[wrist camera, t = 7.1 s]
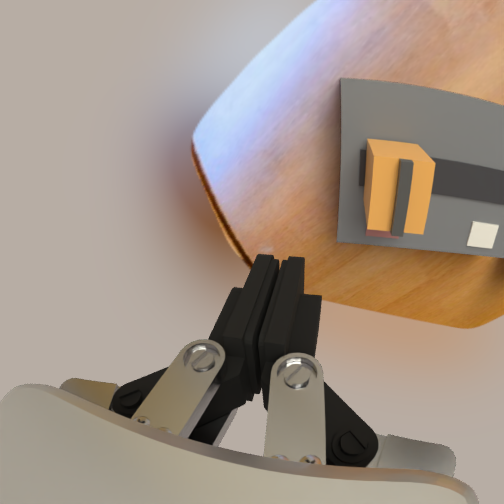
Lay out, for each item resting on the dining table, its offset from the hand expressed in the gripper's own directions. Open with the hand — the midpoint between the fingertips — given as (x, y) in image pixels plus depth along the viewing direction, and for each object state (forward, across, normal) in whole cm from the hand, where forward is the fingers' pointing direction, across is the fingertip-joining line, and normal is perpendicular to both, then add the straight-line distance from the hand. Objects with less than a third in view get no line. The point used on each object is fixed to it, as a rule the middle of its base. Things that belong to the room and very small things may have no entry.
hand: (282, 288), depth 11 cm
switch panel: (+20, -11, 0) cm, 23 cm away
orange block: (+14, -6, 0) cm, 16 cm away
